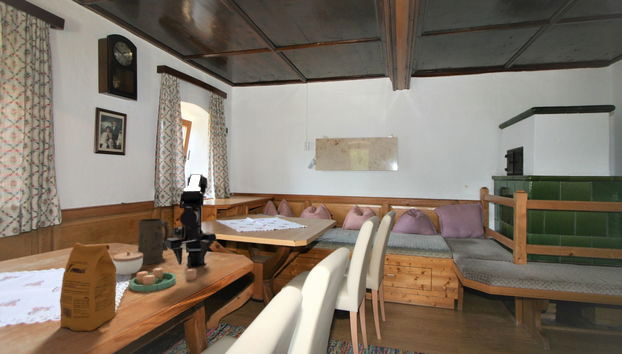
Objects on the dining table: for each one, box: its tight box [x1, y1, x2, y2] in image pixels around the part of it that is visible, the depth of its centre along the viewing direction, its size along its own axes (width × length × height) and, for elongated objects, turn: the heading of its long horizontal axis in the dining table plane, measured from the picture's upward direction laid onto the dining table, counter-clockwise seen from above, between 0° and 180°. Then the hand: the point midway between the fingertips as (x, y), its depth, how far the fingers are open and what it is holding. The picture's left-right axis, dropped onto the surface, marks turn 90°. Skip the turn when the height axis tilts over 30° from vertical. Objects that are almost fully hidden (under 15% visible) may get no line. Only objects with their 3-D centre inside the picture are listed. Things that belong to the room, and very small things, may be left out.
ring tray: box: [129, 271, 177, 293], centre depth 113 cm, size 15×15×3 cm
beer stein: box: [137, 218, 170, 265], centre depth 146 cm, size 15×11×20 cm
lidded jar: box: [112, 250, 143, 276], centre depth 125 cm, size 11×11×9 cm
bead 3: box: [152, 267, 164, 281], centre depth 117 cm, size 4×4×4 cm
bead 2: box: [143, 275, 155, 285], centre depth 109 cm, size 4×4×4 cm
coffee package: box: [59, 241, 117, 332], centre depth 85 cm, size 10×12×22 cm
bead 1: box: [136, 270, 149, 285], centre depth 112 cm, size 4×4×4 cm
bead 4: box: [185, 268, 197, 281], centre depth 119 cm, size 4×4×4 cm
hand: (191, 261), depth 119 cm, fingers open, 9 cm apart
